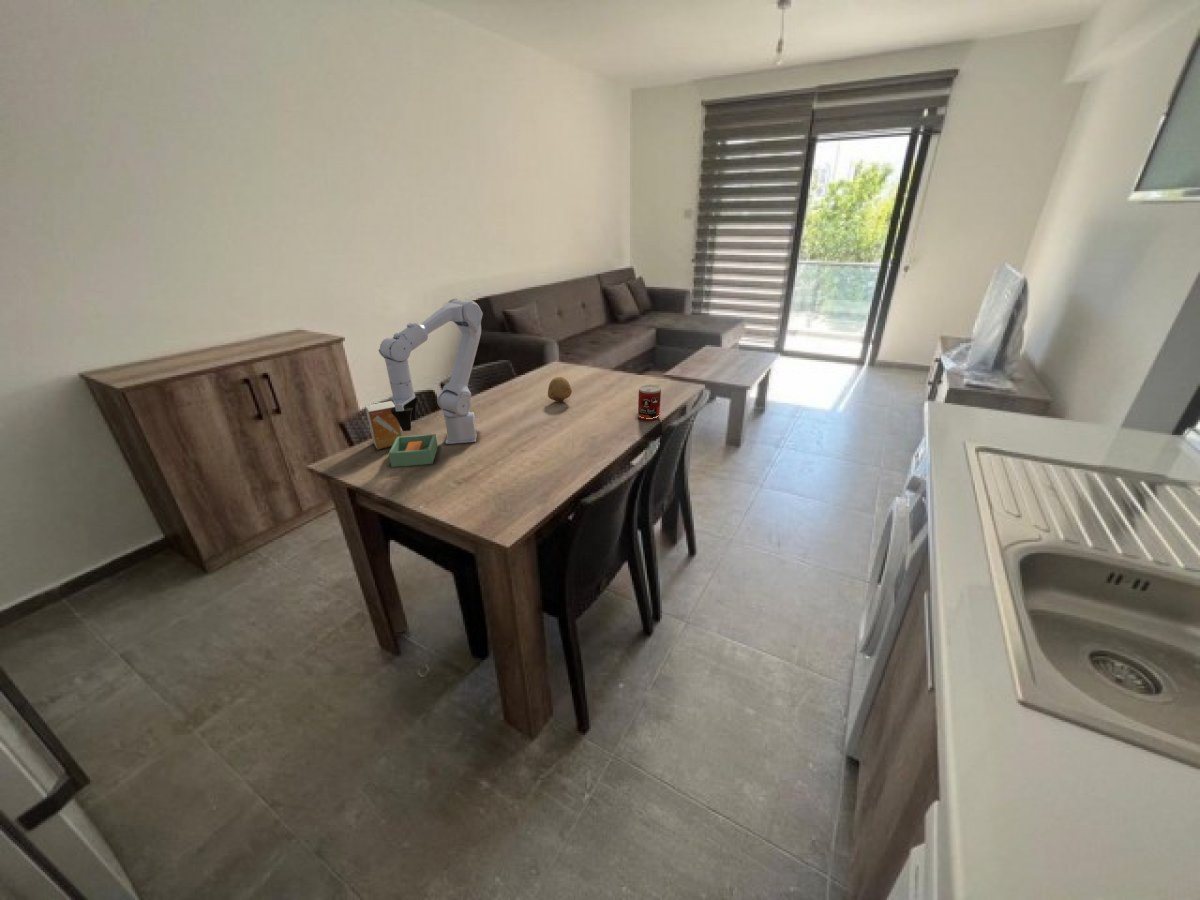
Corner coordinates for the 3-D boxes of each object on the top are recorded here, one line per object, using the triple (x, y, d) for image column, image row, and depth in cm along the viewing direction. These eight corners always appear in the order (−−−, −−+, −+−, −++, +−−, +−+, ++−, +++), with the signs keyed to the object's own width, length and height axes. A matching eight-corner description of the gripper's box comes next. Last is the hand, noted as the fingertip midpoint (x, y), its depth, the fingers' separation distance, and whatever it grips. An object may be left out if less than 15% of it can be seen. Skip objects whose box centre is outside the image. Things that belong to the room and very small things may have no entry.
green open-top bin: (437, 446, 152) (435, 434, 150) (432, 463, 142) (430, 450, 140) (399, 449, 150) (396, 436, 148) (391, 467, 140) (388, 453, 138)
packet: (424, 449, 149) (422, 440, 148) (420, 459, 143) (418, 450, 141) (410, 450, 148) (408, 441, 147) (406, 460, 142) (404, 451, 141)
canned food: (635, 419, 171) (636, 390, 166) (641, 411, 178) (642, 383, 173) (655, 422, 168) (657, 393, 164) (661, 414, 175) (663, 386, 170)
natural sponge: (576, 400, 188) (576, 376, 184) (563, 407, 182) (562, 382, 177) (558, 396, 193) (557, 372, 188) (544, 403, 186) (543, 378, 182)
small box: (377, 450, 150) (368, 411, 144) (373, 443, 154) (364, 405, 149) (404, 444, 154) (396, 406, 148) (399, 437, 158) (391, 400, 153)
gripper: (391, 374, 141) (400, 416, 147) (379, 390, 128) (389, 436, 134) (416, 373, 142) (424, 415, 148) (407, 388, 129) (415, 434, 135)
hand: (409, 425), depth 141 cm, fingers open, 7 cm apart
